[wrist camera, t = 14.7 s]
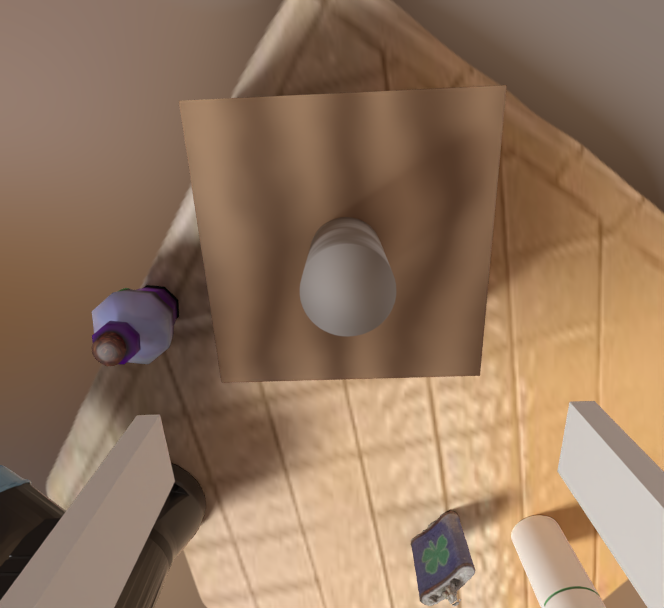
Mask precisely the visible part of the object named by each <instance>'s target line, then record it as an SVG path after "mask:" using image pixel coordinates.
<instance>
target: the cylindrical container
mask: <svg viewBox="0 0 664 608" xmlns="http://www.w3.org/2000/svg"><path fill="white" fill-rule="evenodd" d="M511 538H512V541H513V544H514V546H515V548H516V550H517V553H518V555H519V557H520V560H521V562H522V564H523V567H524V569H525V571H526V574H527V576H528V578H529V581H530V583H531V585H532V588H533V590H534V592H535V594H536V597H537V599H538V601H539V604H540V606H541V608H606V606H605V605H604V603H603V601H602V599H601V598H600V596H599V594H598V592H597V591H596V589H595V587H594V585H593V584H592V582H591V580H590V578H589V577H588V575H587V573H586V572H585V570H584V568H583V566H582V565H581V563H580V561H579V559H578V558H577V556H576V554H575V552H574V551H573V549H572V547H571V545H570V544H569V542H568V540H567V538H566V537H565V535H564V533H563V531H562V530H561V528H560V526H559V524H558V523H557V522H556V521H555V520H554V519H552V518H551V517H548V516H543V515H535V516H530V517H527V518H525V519H523V520H521V521H519V522H518V523H517V524H516V525H515V527H514V528H513V530H512V533H511Z"/></svg>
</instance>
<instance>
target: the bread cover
mask: <svg viewBox="0 0 664 608" xmlns="http://www.w3.org/2000/svg"><path fill="white" fill-rule="evenodd" d="M506 87H507V86H506V85H501V86H480V87H459V88H438V89H417V90H396V91H374V92H353V93H332V94H311V95H290V96H269V97H247V98H227V99H206V100H184V101H179V105H180V112H181V118H182V125H183V132H184V138H185V145H186V151H187V158H188V165H189V171H190V178H191V185H192V191H193V198H194V204H195V211H196V218H197V224H198V231H199V237H200V244H201V250H202V257H203V264H204V270H205V277H206V283H207V290H208V296H209V303H210V310H211V316H212V323H213V329H214V336H215V343H216V349H217V356H218V362H219V369H220V375H221V382H222V383H227V382H264V381H300V380H337V379H373V378H409V377H446V376H480V368H481V357H482V347H483V336H484V325H485V314H486V303H487V292H488V282H489V271H490V260H491V249H492V238H493V227H494V217H495V206H496V195H497V184H498V173H499V162H500V152H501V141H502V130H503V119H504V108H505V97H506Z"/></svg>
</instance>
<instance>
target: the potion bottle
mask: <svg viewBox="0 0 664 608" xmlns="http://www.w3.org/2000/svg"><path fill="white" fill-rule="evenodd" d="M92 317H93V326H94V334H93V335H92V339H93V346H92V353H93V355H94V357H95V359H96V360H98V361H99V362H100V363H101V364H104V365H106V366H114V365H117V364H125V363H126V362H131V363H141V364H150V363H151V362H152V361H153V360H155V359H156V358H157V357H158V356H159V355H161V354H162V353H163V352H164V351H165V350H167V349H168V348H169V347H170V344H171V341H172V337H173V334H174V324H175V321H176V319H177V318H178V317H179V305H178V299H177V298H176V297H175V296H174V295H173V294H172V293H171V292H170V291H169V290H168V289H167V288H166V287H161V286H151V285H146V286H145V287H144V288H142V289H138V290H130V289H129V288H124V289H121V290H119V291H118V292H114V293H112V294H111V295H110V296H109V297H108V298H106V299H105V300H104V301H103V302H102V303H101V304H100V305H99V306H98V307H97V308H95V309H94V310H93V311H92Z"/></svg>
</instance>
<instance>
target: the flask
mask: <svg viewBox="0 0 664 608" xmlns="http://www.w3.org/2000/svg"><path fill="white" fill-rule="evenodd" d="M411 546H412V552H413V557H414V566H415V570H416V576H417V583H418V590H419V597H420V601H421V602H422V603H423V604H425V605H428V606H432V605H434V604H437V603H439V602H440V601H441V600H444V599H448V600H449V602H450V604H452V603H453V602H454V601H456V600H457V597H456V594H457V590H459V589H460V588H461V587H462V586H463V585H464V584H465V583H466V582H467V581H468V580H469V579H470V578H471V577H472V576H473V575H474V573H475V568H474V564H473V562H472V559H471V555H470V552H469V549H468V545H467V542H466V539H465V536H464V533H463V530H462V526H461V523H460V518H459V516H458V515H457V513H456V512H454V511H452V510H451V511H449V512H446V513H444V514H442V515H440V518H439V519H437V520H436V521H434V522H433V523H431V524H430V525H429V526H428V528H427V529H426V530H423V532H422V533H421V534H419V535H417V536H416V537H415V538H413V539H412V541H411ZM459 601H461V599H459ZM458 604H459V602H456V603H455V604H452V605H453V606H457V605H458Z"/></svg>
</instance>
